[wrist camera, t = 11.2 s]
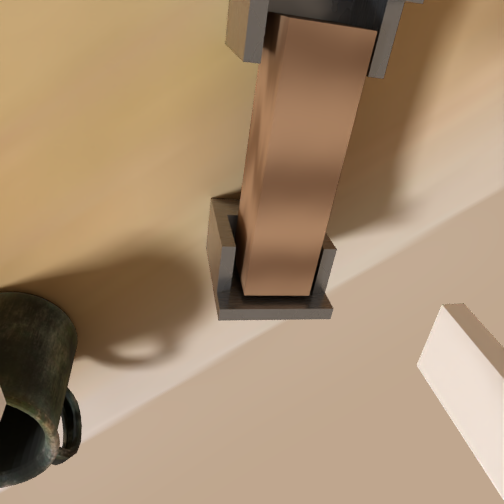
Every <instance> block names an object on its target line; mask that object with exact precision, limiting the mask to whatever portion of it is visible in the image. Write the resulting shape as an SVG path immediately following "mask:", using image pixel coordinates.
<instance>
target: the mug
mask: <svg viewBox="0 0 504 504" xmlns="http://www.w3.org/2000/svg"><path fill="white" fill-rule="evenodd" d="M77 342H78V341H77V333H76V329H75V327H74V325H73V323H72V322H71V320H70V319H69V318H68V316H67V315H66V314H65V313H64V312H63V311H62V310H61V309H60V308H59V307H57V306H56V305H54V304H53V303H51V302H49V301H47V300H45V299H43V298H40V297H38V296H35V295H31V294H26V293H20V292H2V293H0V387H1V390H2V392H3V395H4V398H5V401H6V406H5V409H4V412H3V415H2V418H1V420H0V488H2V487H8V486H12V485H16V484H19V483H22V482H25V481H28V480H29V479H32V478H34V477H36V476H37V475H39V474H41V473H42V472H44V471H45V470H46V469H47V468H48V467H49V466H50V465H51V464H53V465H58V464H61V463H63V462H65V461H66V460H67V459H69V458H70V457H72V456H73V455H74V454H76V453H77V451H78V448H79V445H80V442H81V429H82V424H81V415H80V409H79V406H78V402H77V400H76V399H75V397H74V395H73V394H72V392H71V391H70V390H69V389H68V387H67V386H68V382H69V378H70V373H71V369H72V365H73V360H74V356H75V352H76V347H77ZM60 416H61V417H62V423H63V446H62V448H61V447H59V446H60V440H59V434H58V431H57V429H58V425H59V420H60Z"/></svg>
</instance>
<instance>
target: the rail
mask: <svg viewBox="0 0 504 504" xmlns="http://www.w3.org/2000/svg"><path fill="white" fill-rule="evenodd" d="M376 35H377V31H374V30H370V29H365V28H361V27H357V26H352V25H348V24H343V23H339V22H333V21H326V20H320V19H314V18H307V17H301V16H295V15H288V14H282V13H276V12H269V11H268V12H267V19H266V27H265V34H264V42H263V49H262V57H261V64H259V67H258V74H257V81H256V89H255V96H254V103H253V110H252V118H251V125H250V132H249V139H248V147H247V154H246V161H245V168H244V176H243V183H242V190H241V198H240V205H239V212H238V219H237V227H236V234H235V245H236V251H235V262H236V266H237V270H238V273H239V277H240V281H241V285H242V288H243V292H244V295H252V296H309V294H310V290H311V286H312V282H313V278H314V275H315V271H316V267H317V263H318V259H319V255H320V251H321V248H322V244H323V240H324V236H325V232H326V228H327V224H328V221H329V217H330V213H331V209H332V205H333V201H334V197H335V194H336V190H337V186H338V182H339V178H340V174H341V170H342V166H343V163H344V159H345V155H346V151H347V147H348V143H349V139H350V136H351V132H352V128H353V124H354V120H355V116H356V112H357V109H358V105H359V101H360V97H361V93H362V89H363V85H364V82H365V78H366V74H367V70H368V66H369V62H370V58H371V55H372V51H373V47H374V43H375V39H376Z"/></svg>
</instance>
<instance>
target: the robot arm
mask: <svg viewBox="0 0 504 504" xmlns="http://www.w3.org/2000/svg"><path fill="white" fill-rule="evenodd" d="M417 367H418V368H419V370H420V371H421V373H422V374H423V376H424V377H425V379H426V381H427V382H428V384H429V385H430V387H431V388H432V390H433V391H434V393H435V394H436V396H437V397H438V399H439V401H440V402H441V404H442V405H443V407H444V408H445V410H446V411H447V413H448V415H449V416H450V418H451V419H452V421H453V422H454V424H455V425H456V427H457V429H458V430H459V432H460V433H461V435H462V436H463V438H464V440H465V441H466V443H467V444H468V446H469V447H470V449H471V450H472V452H473V454H474V455H475V457H476V458H477V460H478V461H479V463H480V464H481V466H482V467H483V469H484V471H485V472H486V474H487V475H488V477H489V478H490V480H491V482H492V483H493V485H494V486H495V488H496V489H497V491H498V492H499V494H500V495H501V497H502V499H503V500H504V348H503V346H501V344H500V343H499V342H498V341H497V340H496V339H495V338H494V337H493V335H492V334H491V333H490V332H489V331H488V330H487V329H486V328H485V327H484V326H483V324H482V323H481V322H480V321H479V320H478V319H477V318H476V317H475V315H474V314H473V313H472V312H471V311H470V310H469V309H468V308H467V306H466V305H465V304H464V303H460V304H445V305H442V306H441V308H440V311H439V313H438V316H437V318H436V320H435V323H434V325H433V328H432V330H431V332H430V335H429V337H428V340H427V342H426V344H425V347H424V349H423V352H422V354H421V356H420V359H419V361H418V364H417ZM5 406H6V401H5V398H4V395H3V392H2V390H1V387H0V420H1V418H2V415H3V412H4V409H5Z"/></svg>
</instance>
